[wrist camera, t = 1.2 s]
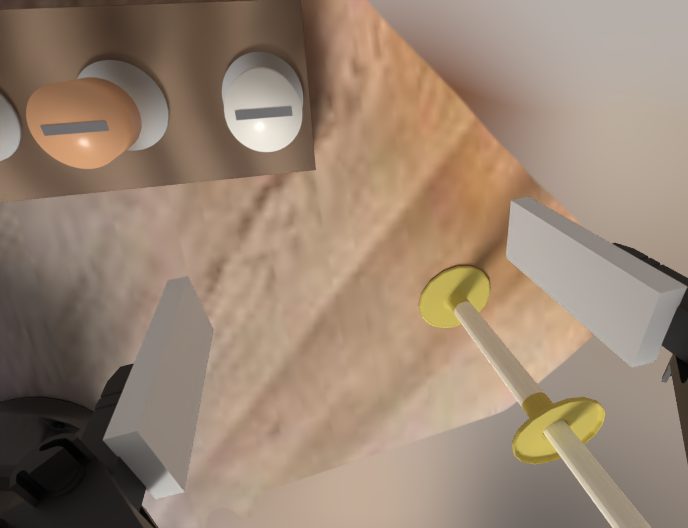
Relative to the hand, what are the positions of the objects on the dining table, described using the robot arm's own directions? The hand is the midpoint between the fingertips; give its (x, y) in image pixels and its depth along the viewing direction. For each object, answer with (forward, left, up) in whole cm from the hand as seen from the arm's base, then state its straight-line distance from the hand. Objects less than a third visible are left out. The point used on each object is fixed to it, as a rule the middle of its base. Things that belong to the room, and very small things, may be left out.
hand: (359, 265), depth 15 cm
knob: (-3, +4, -14) cm, 16 cm away
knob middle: (-13, +4, -15) cm, 20 cm away
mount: (-13, +4, -24) cm, 27 cm away
